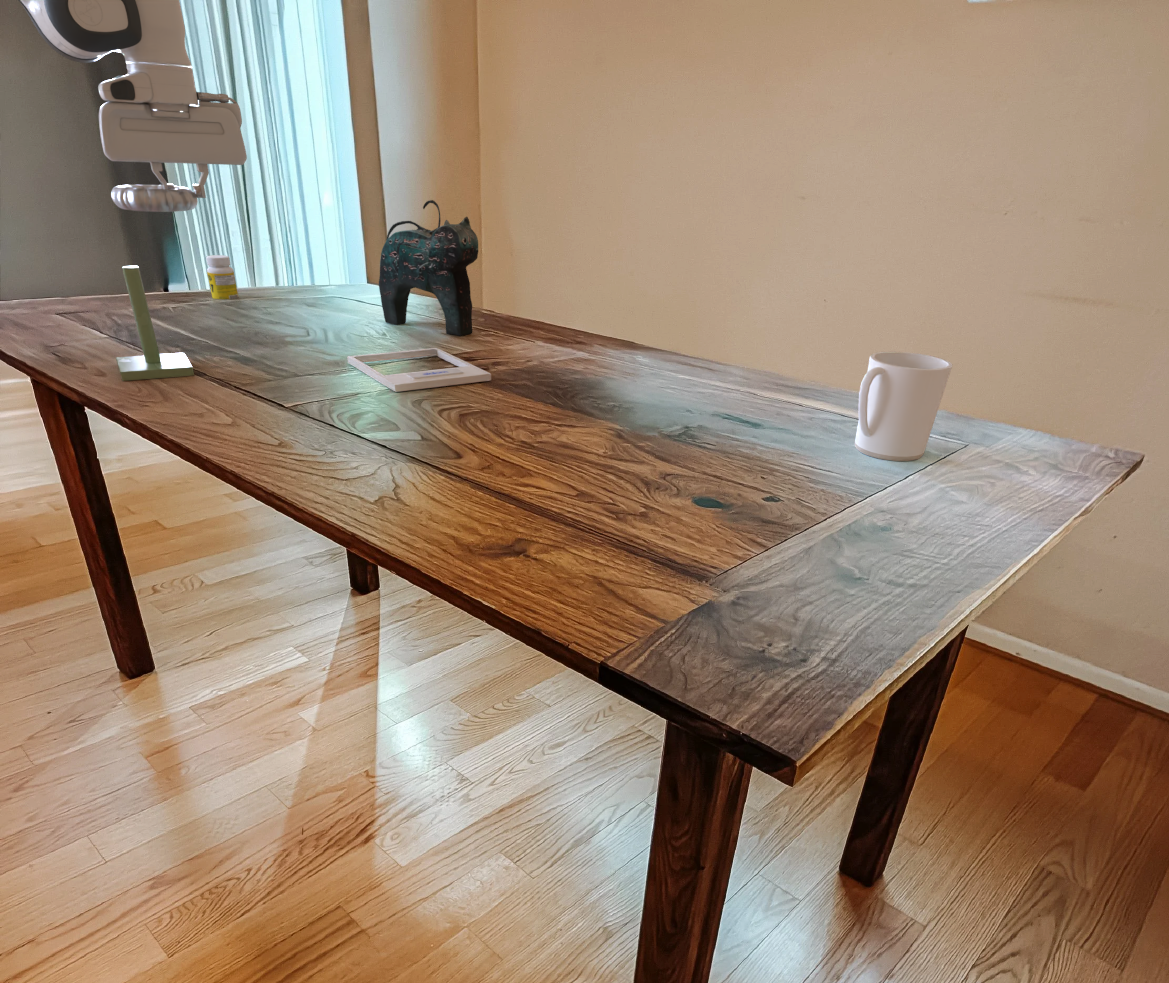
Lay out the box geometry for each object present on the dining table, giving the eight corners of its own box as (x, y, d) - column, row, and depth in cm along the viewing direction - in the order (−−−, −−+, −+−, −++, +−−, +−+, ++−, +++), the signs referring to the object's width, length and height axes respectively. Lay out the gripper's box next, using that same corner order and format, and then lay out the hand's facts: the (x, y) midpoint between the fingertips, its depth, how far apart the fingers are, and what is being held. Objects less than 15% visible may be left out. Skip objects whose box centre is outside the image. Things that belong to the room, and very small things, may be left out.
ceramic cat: (484, 334, 144) (480, 203, 133) (461, 339, 139) (455, 204, 128) (398, 318, 152) (387, 194, 141) (374, 324, 147) (361, 195, 136)
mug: (888, 435, 103) (910, 349, 97) (943, 457, 96) (970, 366, 91) (821, 445, 98) (839, 355, 93) (874, 468, 92) (897, 374, 86)
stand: (122, 381, 110) (93, 272, 102) (117, 366, 116) (90, 263, 109) (194, 375, 113) (171, 270, 106) (186, 361, 120) (163, 261, 113)
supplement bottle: (214, 303, 158) (204, 254, 153) (240, 303, 159) (231, 254, 154) (213, 307, 154) (203, 258, 149) (239, 307, 155) (230, 258, 150)
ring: (117, 212, 121) (111, 188, 119) (112, 205, 130) (106, 183, 128) (203, 212, 126) (199, 190, 125) (193, 206, 135) (189, 185, 133)
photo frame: (394, 383, 109) (346, 355, 122) (395, 391, 110) (347, 362, 122) (490, 372, 116) (436, 346, 129) (491, 380, 117) (437, 353, 129)
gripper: (234, 94, 128) (250, 197, 136) (86, 85, 119) (113, 195, 127) (241, 94, 123) (257, 200, 131) (88, 84, 115) (115, 198, 122)
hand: (185, 197), depth 129 cm, fingers closed on ring, 3 cm apart
